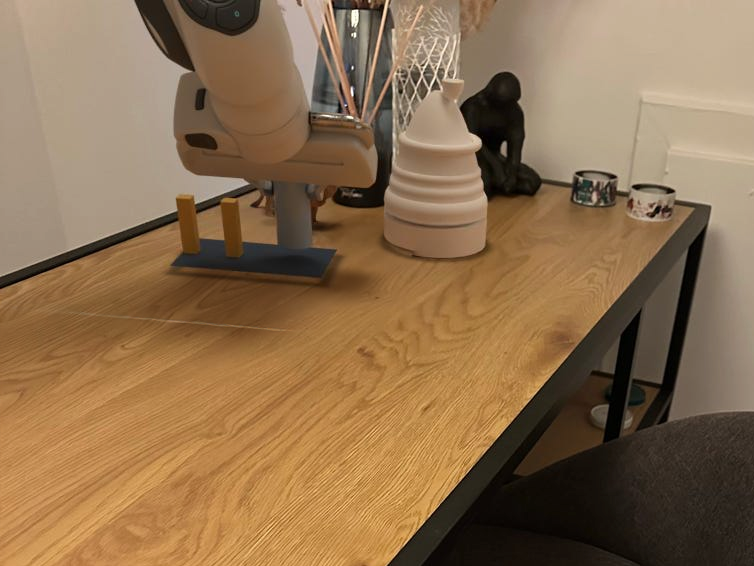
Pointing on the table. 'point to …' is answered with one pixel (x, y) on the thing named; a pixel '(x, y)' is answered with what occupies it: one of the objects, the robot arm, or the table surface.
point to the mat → (259, 259)
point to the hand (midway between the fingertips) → (292, 192)
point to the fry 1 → (188, 223)
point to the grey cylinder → (292, 215)
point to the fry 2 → (231, 227)
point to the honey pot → (437, 182)
